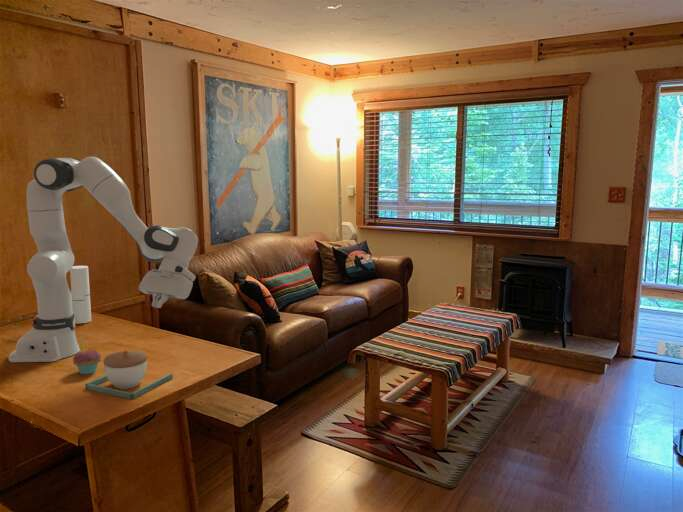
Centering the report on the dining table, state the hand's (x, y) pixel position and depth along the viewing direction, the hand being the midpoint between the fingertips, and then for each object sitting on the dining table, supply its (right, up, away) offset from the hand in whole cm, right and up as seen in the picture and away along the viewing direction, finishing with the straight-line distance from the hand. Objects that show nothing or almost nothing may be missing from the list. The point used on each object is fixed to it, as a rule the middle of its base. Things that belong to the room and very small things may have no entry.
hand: (155, 306), depth 175 cm
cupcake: (-22, -22, -2) cm, 31 cm away
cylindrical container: (-52, -12, +53) cm, 75 cm away
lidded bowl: (-5, -24, -11) cm, 27 cm away
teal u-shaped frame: (-4, -23, -10) cm, 26 cm away
